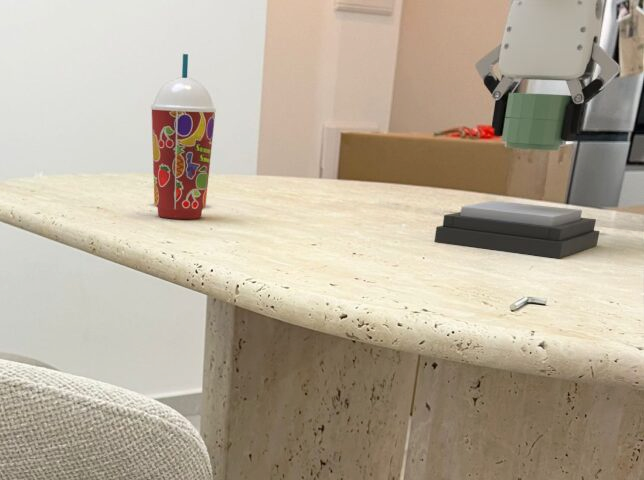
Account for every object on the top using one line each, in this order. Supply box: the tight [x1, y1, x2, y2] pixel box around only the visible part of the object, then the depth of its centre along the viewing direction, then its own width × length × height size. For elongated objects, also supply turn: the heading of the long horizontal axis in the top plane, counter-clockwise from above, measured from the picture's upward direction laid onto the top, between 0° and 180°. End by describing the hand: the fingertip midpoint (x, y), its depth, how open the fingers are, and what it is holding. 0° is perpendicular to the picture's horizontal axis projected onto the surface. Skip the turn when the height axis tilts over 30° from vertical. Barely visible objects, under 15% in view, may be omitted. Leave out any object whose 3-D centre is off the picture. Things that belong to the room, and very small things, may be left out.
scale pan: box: [460, 200, 583, 227], centre depth 115 cm, size 11×11×2 cm
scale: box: [434, 211, 600, 260], centre depth 115 cm, size 15×15×3 cm
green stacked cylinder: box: [500, 92, 572, 151], centre depth 111 cm, size 7×7×6 cm
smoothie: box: [150, 53, 217, 220], centre depth 122 cm, size 8×8×20 cm
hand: (533, 137), depth 111 cm, fingers closed on green stacked cylinder, 7 cm apart
